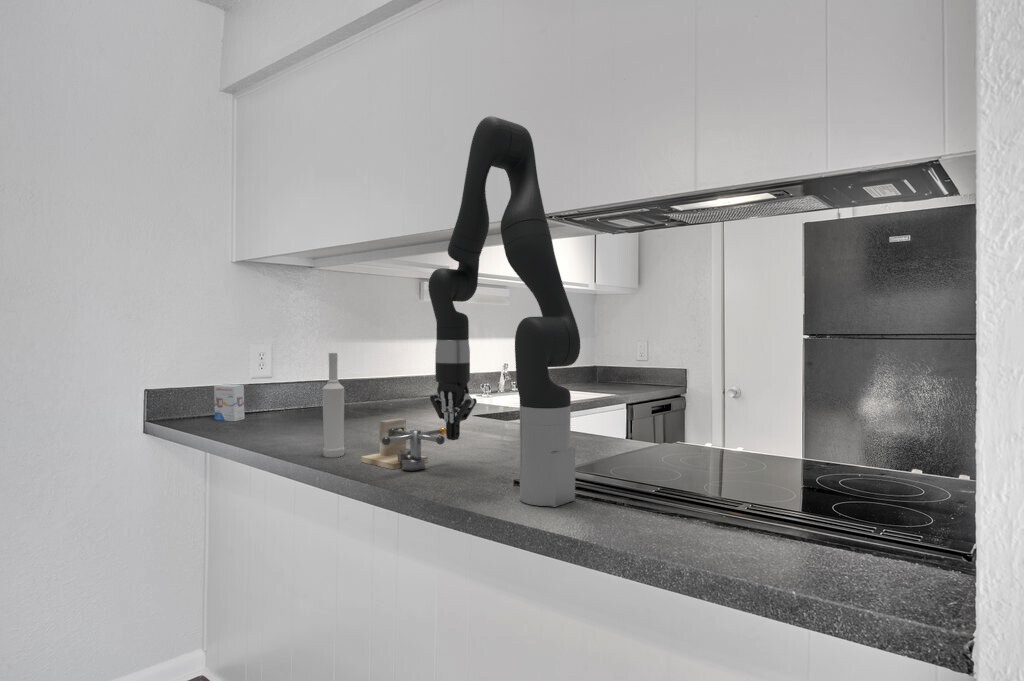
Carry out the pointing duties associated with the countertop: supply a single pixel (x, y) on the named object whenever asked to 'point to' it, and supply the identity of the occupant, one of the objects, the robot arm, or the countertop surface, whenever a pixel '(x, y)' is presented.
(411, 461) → the grey cross handle
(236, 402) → the ink box
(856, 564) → the countertop surface
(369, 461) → the stand
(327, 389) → the bottle
